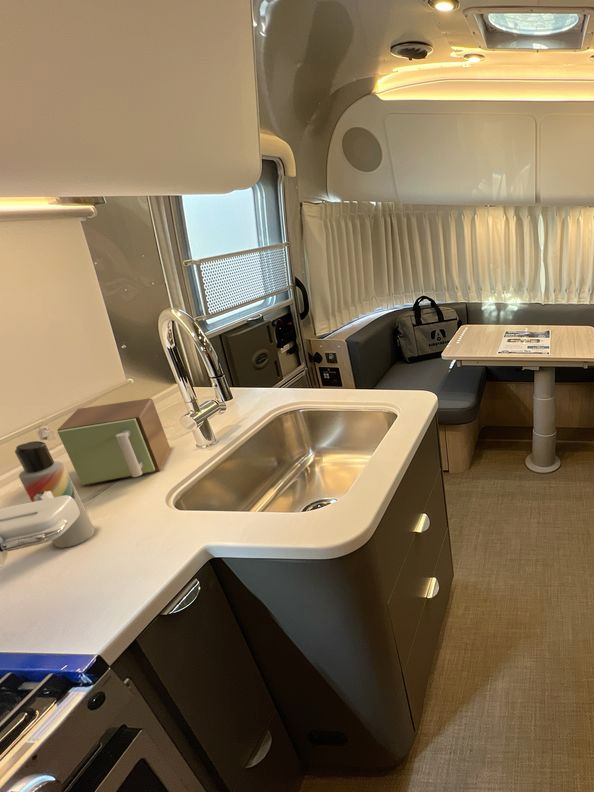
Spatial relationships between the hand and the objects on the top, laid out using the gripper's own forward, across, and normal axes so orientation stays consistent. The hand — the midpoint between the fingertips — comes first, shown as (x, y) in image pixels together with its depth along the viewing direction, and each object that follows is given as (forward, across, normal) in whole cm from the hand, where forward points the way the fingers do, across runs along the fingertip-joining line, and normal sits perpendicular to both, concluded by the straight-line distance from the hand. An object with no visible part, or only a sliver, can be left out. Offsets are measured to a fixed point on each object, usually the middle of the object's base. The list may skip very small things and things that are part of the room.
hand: (6, 503), depth 74 cm
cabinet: (+40, -2, +15) cm, 43 cm away
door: (+31, -2, +14) cm, 34 cm away
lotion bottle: (+12, 0, +16) cm, 20 cm away
